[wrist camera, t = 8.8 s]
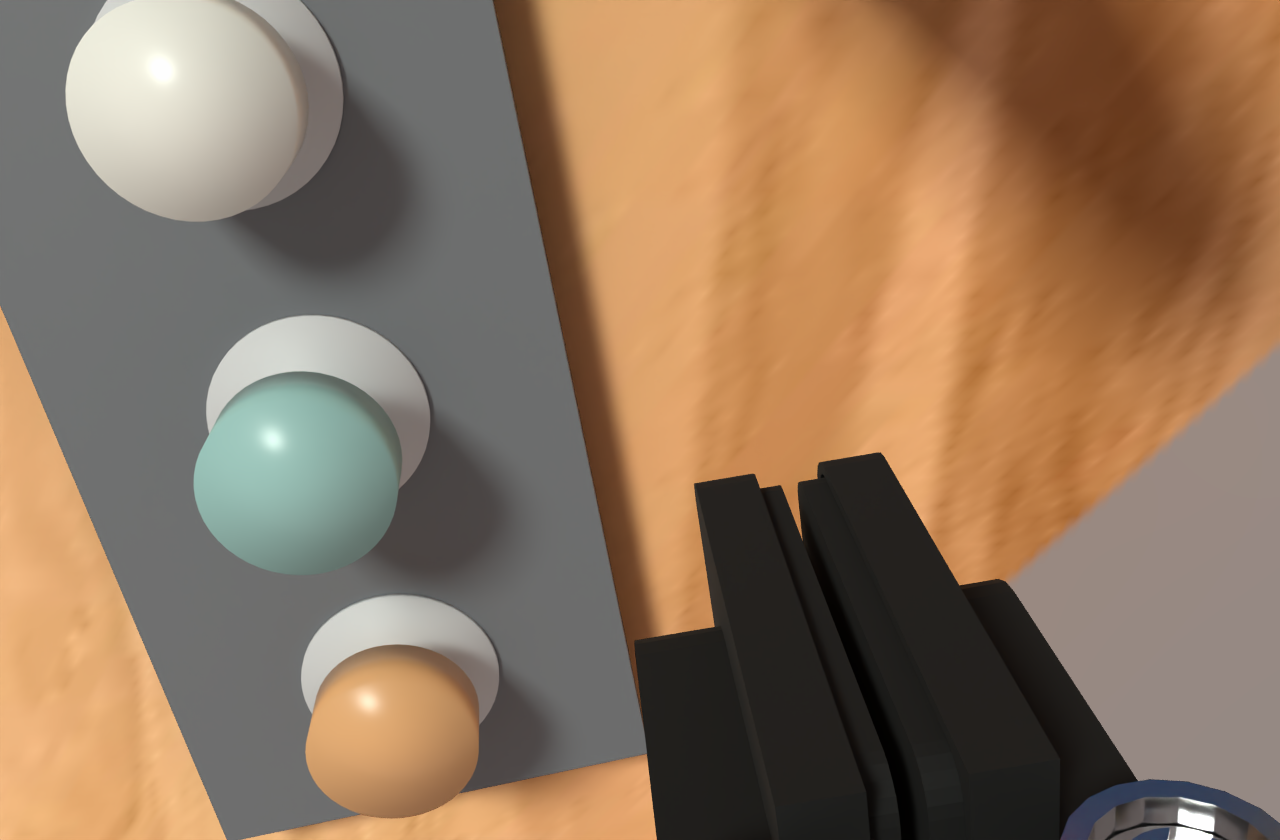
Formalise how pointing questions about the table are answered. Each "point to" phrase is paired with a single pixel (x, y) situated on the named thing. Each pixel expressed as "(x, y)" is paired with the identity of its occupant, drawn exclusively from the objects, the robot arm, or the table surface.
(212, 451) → the teal button
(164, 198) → the cream button
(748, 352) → the table surface
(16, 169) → the button board
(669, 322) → the table surface
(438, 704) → the terracotta button
